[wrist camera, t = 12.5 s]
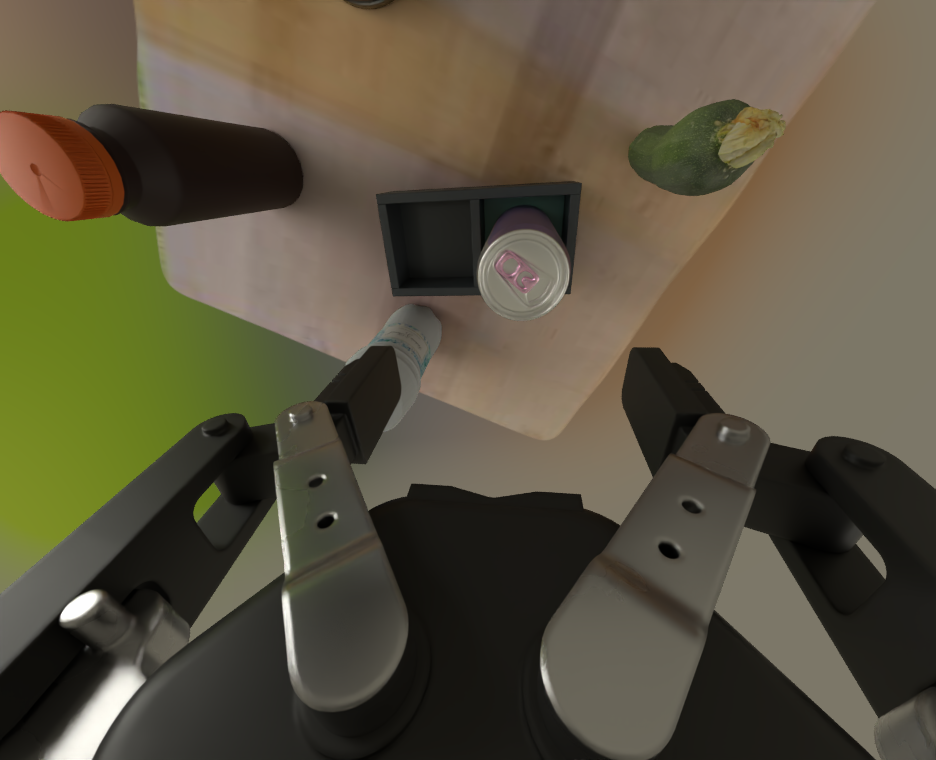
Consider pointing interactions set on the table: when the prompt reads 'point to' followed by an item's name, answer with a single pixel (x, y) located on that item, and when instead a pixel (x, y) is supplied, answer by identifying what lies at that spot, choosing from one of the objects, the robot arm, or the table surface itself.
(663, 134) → the vegetable
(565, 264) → the beverage can
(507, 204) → the divided tray
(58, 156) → the vinegar
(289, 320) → the table surface
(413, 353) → the bottle
